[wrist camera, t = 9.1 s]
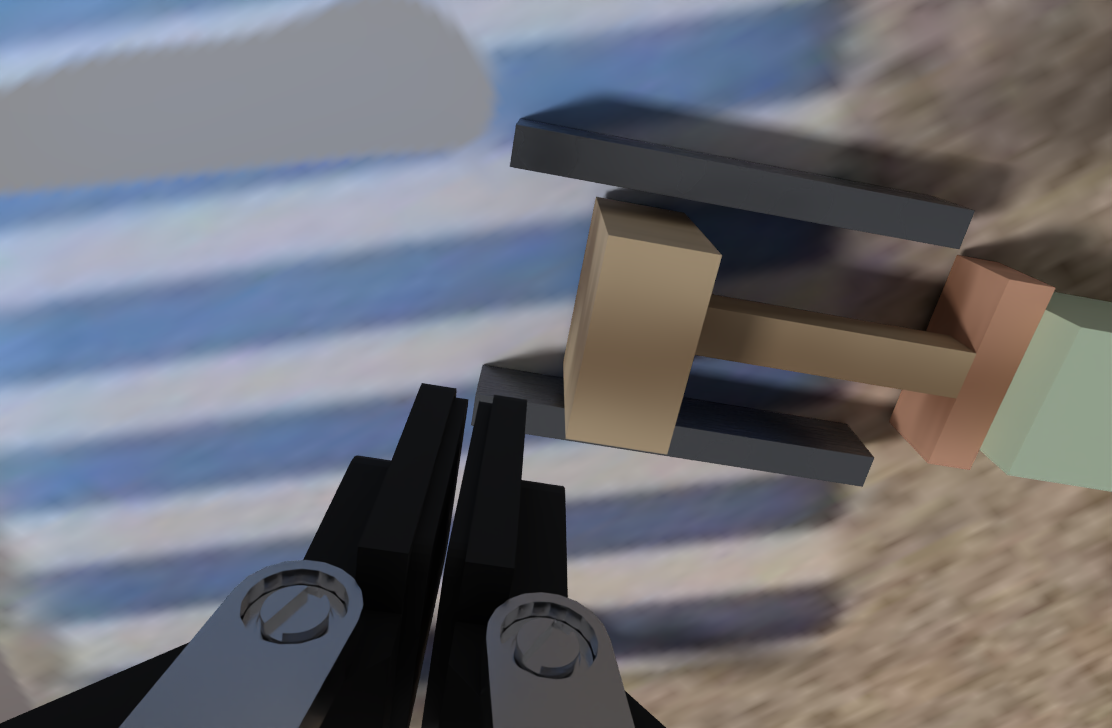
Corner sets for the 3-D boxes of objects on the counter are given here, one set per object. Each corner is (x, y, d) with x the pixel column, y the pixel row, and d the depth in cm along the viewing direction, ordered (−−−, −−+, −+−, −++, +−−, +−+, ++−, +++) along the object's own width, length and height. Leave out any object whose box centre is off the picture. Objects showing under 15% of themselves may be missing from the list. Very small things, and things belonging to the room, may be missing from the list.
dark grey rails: (520, 118, 23) (516, 124, 20) (934, 196, 24) (974, 210, 21) (478, 393, 26) (470, 425, 24) (836, 451, 27) (862, 486, 25)
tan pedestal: (597, 189, 23) (610, 225, 18) (998, 262, 24) (1121, 317, 19) (562, 368, 26) (563, 446, 20) (926, 428, 27) (1018, 517, 21)
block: (983, 278, 25) (1080, 327, 20) (1115, 302, 25) (1240, 355, 21) (929, 404, 27) (1007, 474, 22) (1052, 424, 27) (1154, 498, 23)
